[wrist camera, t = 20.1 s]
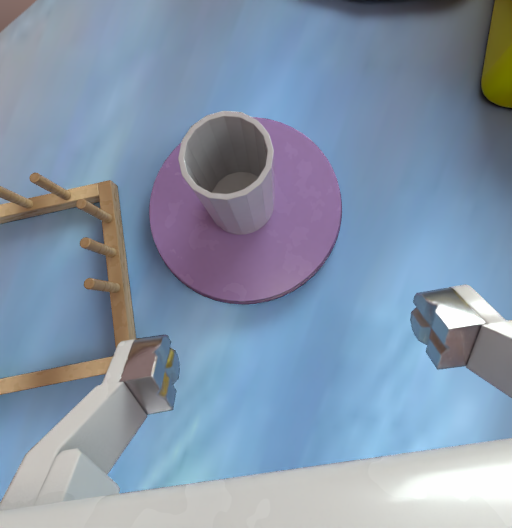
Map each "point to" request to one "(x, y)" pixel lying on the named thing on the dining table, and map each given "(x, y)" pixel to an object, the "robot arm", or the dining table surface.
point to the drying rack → (116, 277)
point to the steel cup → (230, 170)
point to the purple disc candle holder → (259, 242)
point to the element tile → (499, 56)
